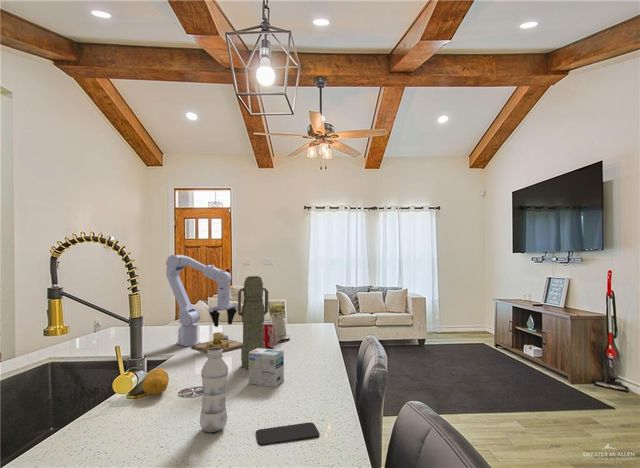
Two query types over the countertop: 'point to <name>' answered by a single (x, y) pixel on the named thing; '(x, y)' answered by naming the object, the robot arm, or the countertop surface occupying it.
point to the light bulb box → (266, 367)
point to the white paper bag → (279, 321)
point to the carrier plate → (232, 346)
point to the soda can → (268, 335)
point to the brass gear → (218, 341)
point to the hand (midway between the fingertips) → (223, 325)
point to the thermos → (252, 316)
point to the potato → (155, 381)
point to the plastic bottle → (214, 392)
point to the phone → (287, 433)
